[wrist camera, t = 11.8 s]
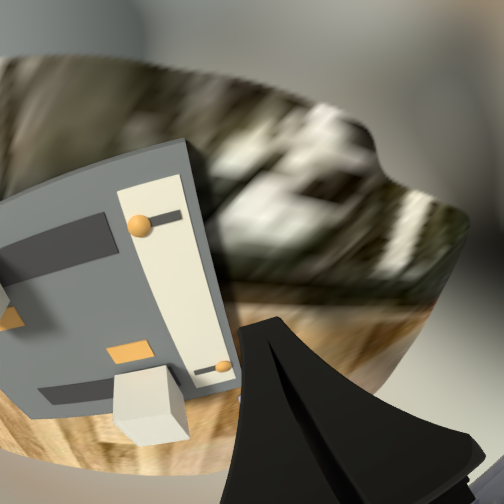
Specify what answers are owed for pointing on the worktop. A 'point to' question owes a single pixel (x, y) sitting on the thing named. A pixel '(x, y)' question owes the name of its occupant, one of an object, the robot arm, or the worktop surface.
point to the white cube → (149, 407)
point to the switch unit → (110, 286)
